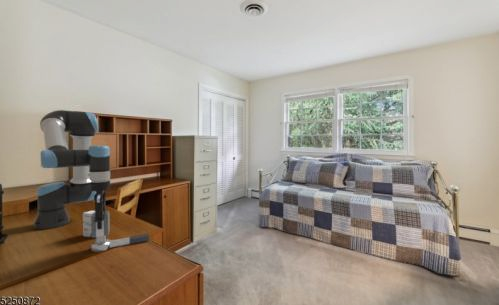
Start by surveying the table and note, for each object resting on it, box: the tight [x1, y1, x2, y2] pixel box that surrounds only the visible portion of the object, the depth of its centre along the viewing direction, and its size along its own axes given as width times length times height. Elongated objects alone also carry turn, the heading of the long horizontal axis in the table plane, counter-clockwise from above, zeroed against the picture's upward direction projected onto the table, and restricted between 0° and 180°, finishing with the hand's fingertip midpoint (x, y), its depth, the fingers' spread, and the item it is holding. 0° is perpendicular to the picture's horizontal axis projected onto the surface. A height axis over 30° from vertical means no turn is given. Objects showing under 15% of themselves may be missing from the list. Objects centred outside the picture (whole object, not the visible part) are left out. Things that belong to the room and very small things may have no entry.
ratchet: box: [91, 233, 150, 253], centre depth 101 cm, size 22×7×6 cm, turn 118°
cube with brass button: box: [91, 210, 111, 238], centre depth 97 cm, size 6×6×9 cm
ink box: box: [82, 210, 97, 239], centre depth 111 cm, size 8×5×12 cm, turn 74°
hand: (101, 233), depth 97 cm, fingers closed on cube with brass button, 6 cm apart
